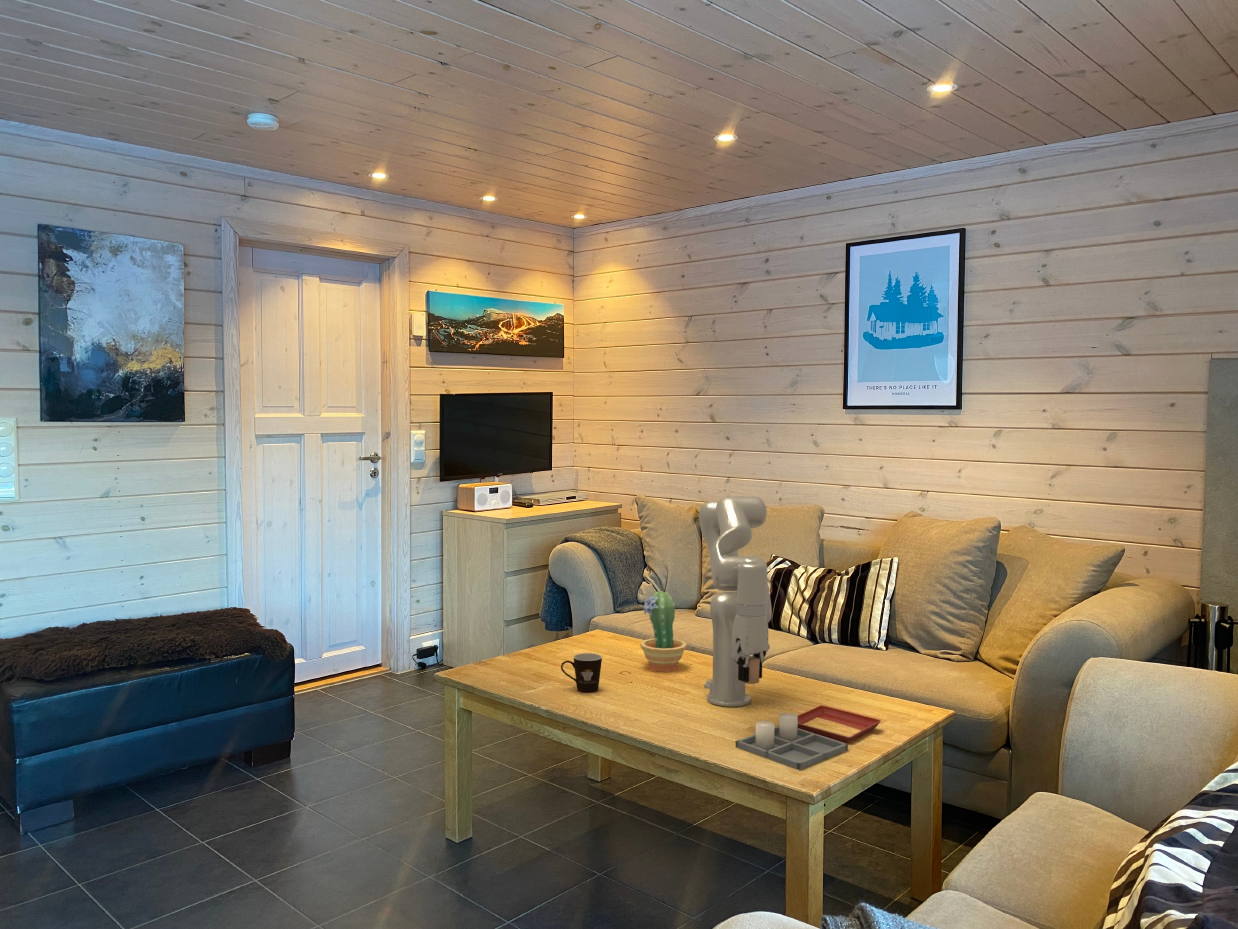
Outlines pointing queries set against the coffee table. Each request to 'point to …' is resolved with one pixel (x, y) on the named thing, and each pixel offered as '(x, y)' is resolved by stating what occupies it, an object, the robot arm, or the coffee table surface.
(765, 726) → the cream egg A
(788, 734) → the cream rounded cylinder
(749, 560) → the robot arm
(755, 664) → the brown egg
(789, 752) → the gray divided tray
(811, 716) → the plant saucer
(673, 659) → the potted cactus
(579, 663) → the coffee mug
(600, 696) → the coffee table surface
